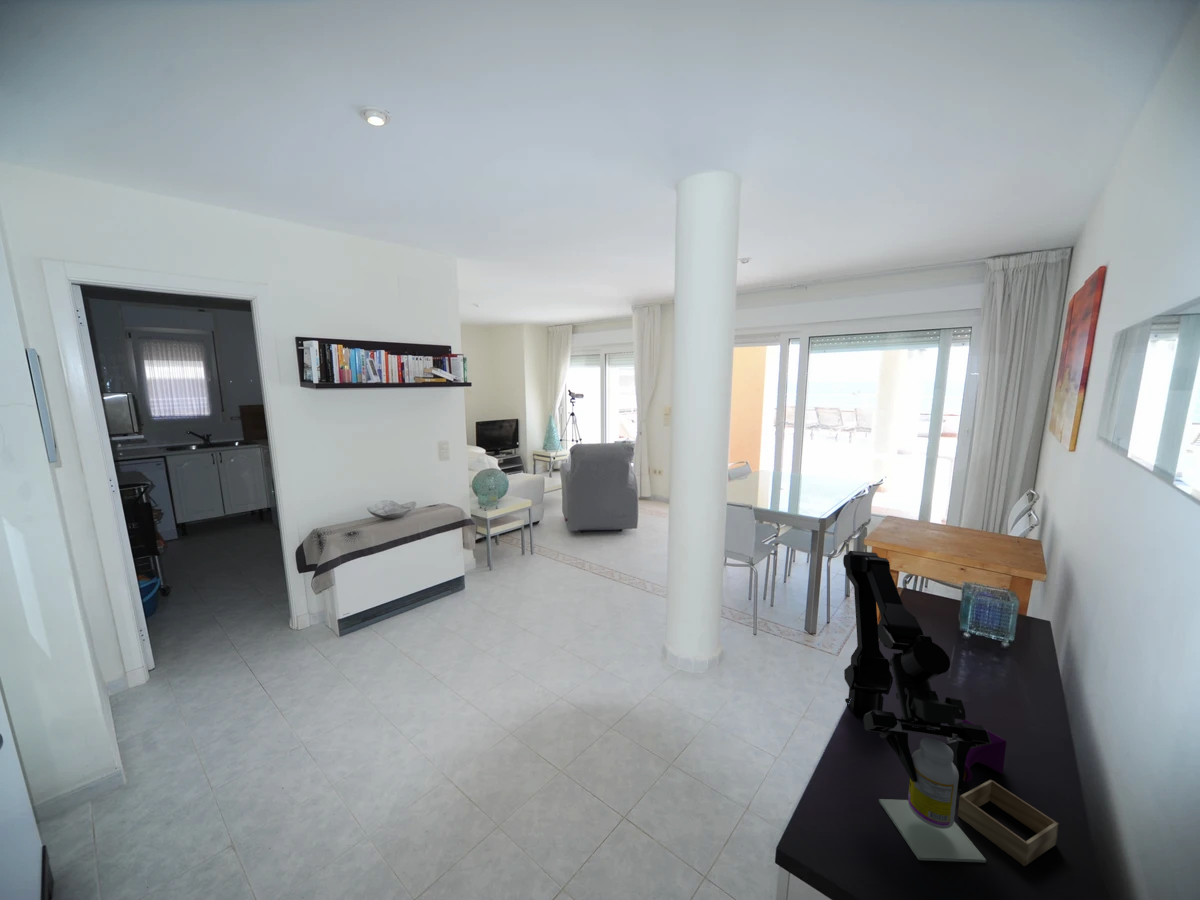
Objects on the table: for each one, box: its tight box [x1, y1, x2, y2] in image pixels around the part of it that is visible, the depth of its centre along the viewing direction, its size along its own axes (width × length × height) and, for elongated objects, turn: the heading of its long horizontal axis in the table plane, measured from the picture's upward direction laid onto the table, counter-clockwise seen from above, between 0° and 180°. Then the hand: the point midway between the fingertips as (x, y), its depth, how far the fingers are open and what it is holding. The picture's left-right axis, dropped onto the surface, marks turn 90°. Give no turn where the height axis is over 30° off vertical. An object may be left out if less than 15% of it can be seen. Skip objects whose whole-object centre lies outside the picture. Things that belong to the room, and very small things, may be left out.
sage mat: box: [878, 798, 987, 863], centre depth 80 cm, size 11×11×1 cm
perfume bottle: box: [961, 719, 1007, 783], centre depth 92 cm, size 8×8×18 cm
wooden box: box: [957, 779, 1059, 867], centre depth 80 cm, size 10×10×4 cm
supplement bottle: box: [907, 736, 959, 829], centre depth 79 cm, size 7×7×13 cm
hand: (937, 785), depth 77 cm, fingers closed on supplement bottle, 7 cm apart
